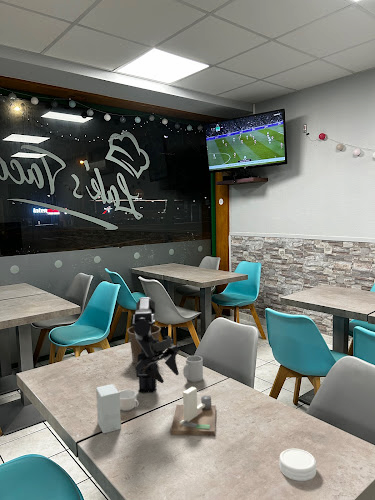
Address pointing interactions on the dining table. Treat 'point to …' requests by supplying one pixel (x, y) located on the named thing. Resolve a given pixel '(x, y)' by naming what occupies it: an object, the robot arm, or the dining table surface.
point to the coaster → (297, 464)
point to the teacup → (128, 399)
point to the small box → (108, 408)
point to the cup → (193, 368)
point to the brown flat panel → (194, 422)
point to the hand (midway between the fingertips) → (170, 378)
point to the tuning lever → (193, 404)
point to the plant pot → (134, 343)
